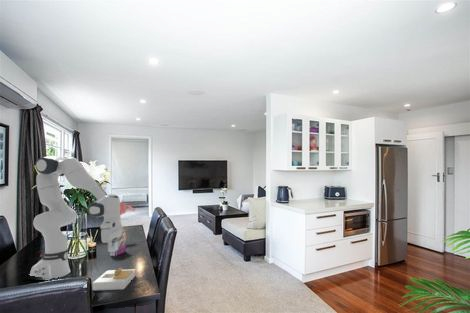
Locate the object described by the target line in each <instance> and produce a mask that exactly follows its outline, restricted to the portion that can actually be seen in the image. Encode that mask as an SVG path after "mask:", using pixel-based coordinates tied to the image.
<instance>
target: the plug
mask: <svg viewBox="0 0 470 313" xmlns="http://www.w3.org/2000/svg"><path fill="white" fill-rule="evenodd" d="M118 241H119V238H114V239H113V240H112V244H113V247H112V248H109V245H108V242H106V244H107V252H108V253H110V252H113V251H116V250H118Z"/></svg>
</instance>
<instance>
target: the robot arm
mask: <svg viewBox="0 0 470 313" xmlns="http://www.w3.org/2000/svg"><path fill="white" fill-rule="evenodd" d="M34 167H35V170H36V171H37V173H38V174H37V175H36V177H35V178H36V182H35V183H36V189H37V194H38V197H39V201H40V203H41V205H43V206H46V207H47V208H48V209H49V210H48V211H44V212H41V213H40V214H37V215H35V217H34V219H33V222H32V223H33V227H34V228H35V230H36V231H38V232H39V233H41V235H42V236H43V239H44V249H45V250H44V253H42V254H41V255H40V257H42V258H41V259H40V260H38V262H37V263H36V264H34V265H32V267H31V270H30V272H29V275H30V276H35V277H42V278H43V279H44V278H46V279H45V280H48V281H50V280H49V279H52V278H55V279H59V278H62V277H65V276H67V275H68V274H70V273H71V269H70V265H69V260H68V259H69V249H68V236H67V235H66V234H64V233H62V231H61V228H62V227H65V226H68V225H71V224H72V223H74V222H75V221H76V220H77V212H76V210H75V209H74V208H71V206H69V205H68V204H67V202H66V201H65V199H64V198H63V197H64V196H63V194H62V191H61V186H60V183H59V177H65V178H66V180H67V182H68V183H69V184H70V185H71V186H72V187H73V188H76V189H82V190H85V191H88V192H90V193H91V194H92V195H93V196H94V197H95V198H96V200H95V201H93V202H91V203H89V205H88V206H87V213H88V215H89V216H90V217H92V218H101V217H103V221H102V222H101V224H100V226H99V228H100V237H101V238H100V239H101V242H102V243H103V244H105V243H106V244H107V246H108V245H109V248H112V247H113V244H112V240H113V239H114V238H118V236H119V235H121V234H122V230H123V224H122V220H121V215H120V197H119V195H117V194H107V192H106V191H105V190H104V189H103V187H102V186H101V185H100V184H99V182H98V181H96V180H95V179H94V178H93V176H91V175H90V174H89V172H88V171H87V170H86V168H85V167H84V166H83V164H82V163H81V162H80V161H79V160H78V159H77V158H75V157H73V156H71V157H66V156H56V155H55V156H42V157H39V158H38V159H37V160H36V161H35V166H34ZM107 242H108V243H107ZM58 277H59V278H58ZM52 280H53V279H52ZM48 281H47V282H48Z"/></svg>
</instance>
